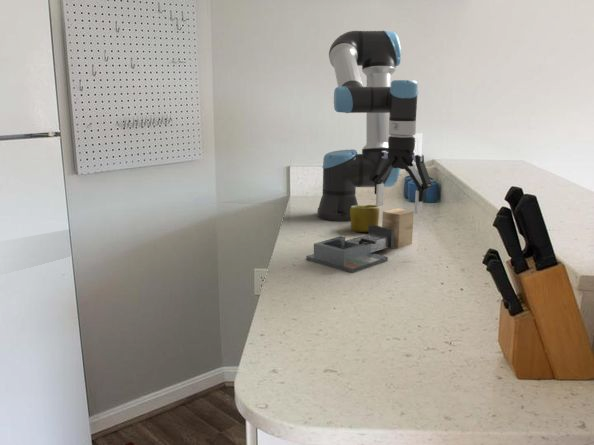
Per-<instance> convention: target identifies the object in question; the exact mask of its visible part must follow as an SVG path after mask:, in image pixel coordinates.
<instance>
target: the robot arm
mask: <svg viewBox="0 0 594 445" xmlns="http://www.w3.org/2000/svg"><path fill="white" fill-rule="evenodd" d="M401 50H402V48H401V42H400V38H399V36H398V34H397V33H396V32H394V31H391V30H390V31H388V30H351V31H347V32H345V33H343V34H341V35H339V36H338V37H337V38H335V40H334V41H333V42H332V44H331V46H330V48H329V51H328V59H329V63H330V65H331V67H333V69H334V73H335V74H334V75H335V77H336V82H337V87H335V88H334V91H333V108H334V111H336V112H337V113H343V114H344V113H345V114H352V113H353V114H355V113H357V114H362V113H366V130H365V131H366V143H365V145H364V146H363V148H362V149H361V153H358V152H357V150H356V149H341V150H339V149H338V150H334V151H330V152H327V153H325V155H324V156H323V161H322V195H321V199H320V202H319V204H318V205H319V206H318V207H317V212H316V215H317V217H318V218H319V219H323V220H326V221H335V222H336V221H338V222H339V221H341V222H342V221H344V222H345V221H351V217H350V208H351V206H359V203H358V199H357V196H356V193H357V192H356V189H357V188H374V195H375V197H376V198H375V205H376V206H379V207H382V206H384V201H385V200H384V199H385V198H384V196H385V188H391V187H394V186H395V185H396V183H397V182H398V179H399V176H400V172H401V170H405V171H406V172H407V174H408V175H409V176H410V178H411V180H412V182H414V184H415V186H416V188H417V189H415V193H414V194H415V195H414V196H415V197H414V198H415V199H414V214H420V213H423V202H426V201H425V200H426V191H427V190H429V189H432V188H433V183H432V181H431V179H430V176H429V173H428V169H427V167H426V164H425V156H424V154H423V153H421V154H415V153H414V150H415V148H416V145H415V144H416V138H415V135H416V132H417V131H416V128H417V110H418V109H417V107H418V95H419V91H418V82H417V80H414V79H411V80H410V79H404V80H403V79H402V80H401V79H400V80H399V79H394V80H392V74H394V73H395V71H396V68H397V67H398V66H400V64H401V59H402V58H401V56H402V53H401V52H402V51H401ZM359 66H361V71H362V73H363V74H364V75H365V77H366V86H364V85H363V84H364V83H363V80H362V77H361V74H360V70H359Z"/></svg>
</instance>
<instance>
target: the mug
mask: <svg viewBox="0 0 594 445" xmlns="http://www.w3.org/2000/svg"><path fill="white" fill-rule="evenodd" d="M350 217H351V220H350V226H351V229H352V231H353V232H355V233H369V225H376V226H380V225H379V223H380V222H379V221H380V220H379V219H380V206H376V204H361V205H359V204H358V206H351V208H350Z"/></svg>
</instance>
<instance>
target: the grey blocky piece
mask: <svg viewBox="0 0 594 445" xmlns="http://www.w3.org/2000/svg"><path fill="white" fill-rule="evenodd" d="M366 242H367V243H371V253H375V252H378V251H381V250H385V249H386V248H389V249H392V248H394V247H393V244H394V229H390V228H385V227H382V226H380V225H379V226H376V225H369V232H368V233H367V234H365V235H361V236H358V237H357V236H356V237H354V238H349V239H345V242H344V249H346V248H350V247H353V246H356V245H360V244H363V243H366Z"/></svg>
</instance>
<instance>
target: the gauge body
mask: <svg viewBox="0 0 594 445" xmlns="http://www.w3.org/2000/svg"><path fill="white" fill-rule="evenodd" d="M345 241H346V237H345V236H337V237H333V238H329V239H326V240H323V241H319V242H315V243H313V253H312V254H308V255H306V258H305V260H306V261H310V262H314V263H317V264H320V265H323V266H328V267H331V268H334V269H337V270H340V271H344V272H347V273H351V274H353V273H357V272H358V271H362V270H365V269H368V268H370V267H373V265H374V266H376V264H377V265H379V264H382V263H384V262H388V258H389V257H388V256H385V255H382V254H377V253H375V252H372V253H371V243H367V242H366V243H363V244H360V245H356V246H353V247H350V248H346V249H344V242H345ZM378 263H379V264H378Z"/></svg>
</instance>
